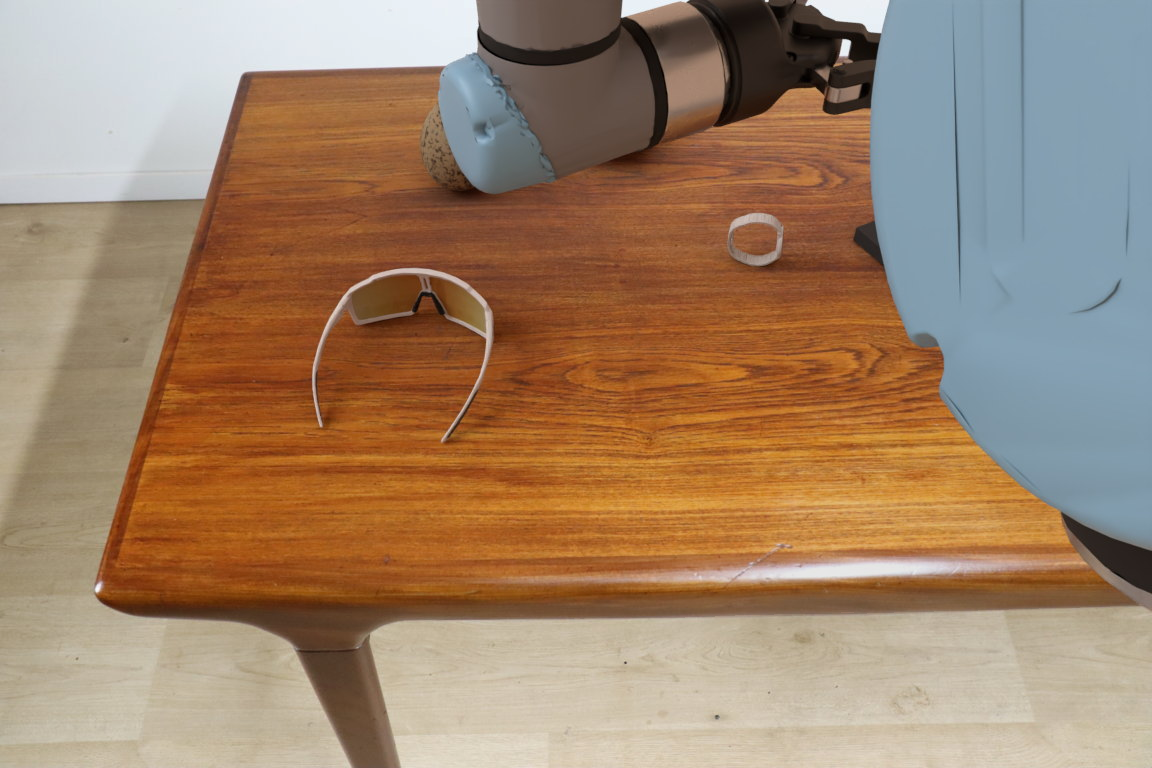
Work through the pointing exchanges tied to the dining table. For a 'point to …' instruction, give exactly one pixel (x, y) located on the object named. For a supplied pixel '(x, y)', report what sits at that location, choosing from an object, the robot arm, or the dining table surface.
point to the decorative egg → (440, 154)
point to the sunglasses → (402, 298)
